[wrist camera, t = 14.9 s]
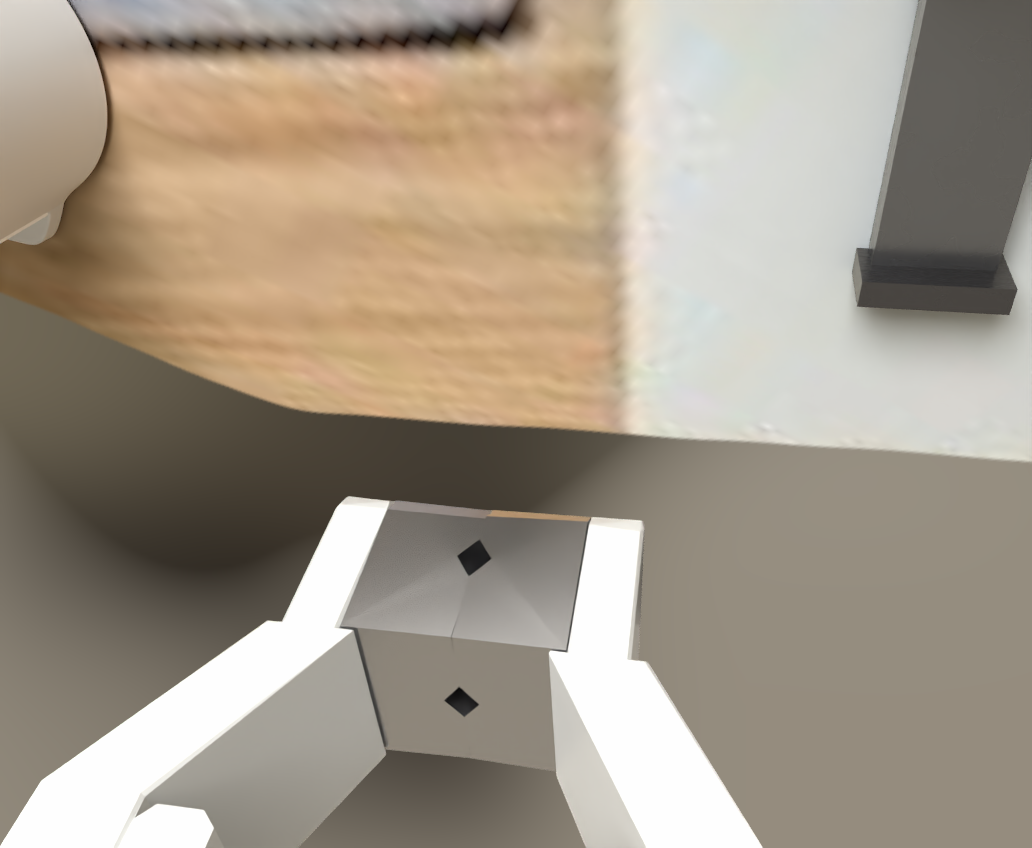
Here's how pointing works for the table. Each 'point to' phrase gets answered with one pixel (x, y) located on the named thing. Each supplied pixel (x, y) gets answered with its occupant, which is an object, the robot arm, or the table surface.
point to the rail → (953, 162)
